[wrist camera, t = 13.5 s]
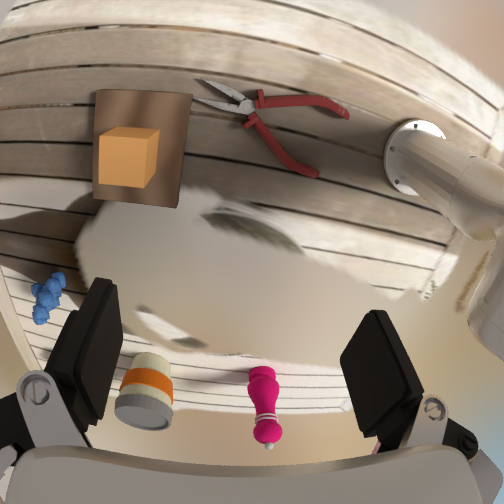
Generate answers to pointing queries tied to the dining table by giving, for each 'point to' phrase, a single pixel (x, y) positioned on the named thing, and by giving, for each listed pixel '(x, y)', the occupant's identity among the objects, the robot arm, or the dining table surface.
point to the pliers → (268, 102)
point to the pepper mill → (265, 405)
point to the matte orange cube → (128, 156)
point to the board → (152, 117)
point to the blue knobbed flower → (47, 297)
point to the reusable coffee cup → (146, 394)
